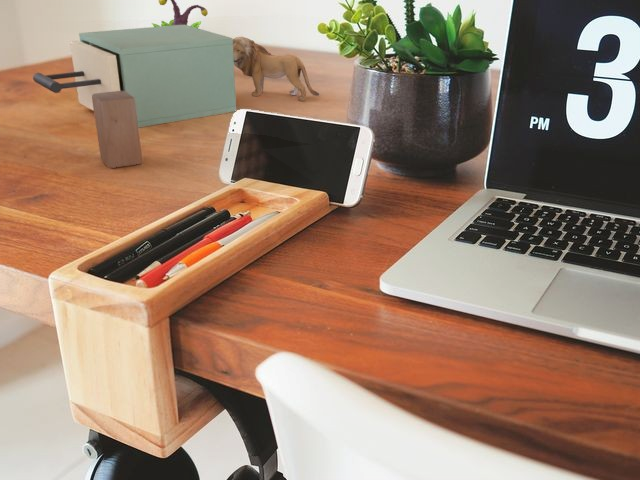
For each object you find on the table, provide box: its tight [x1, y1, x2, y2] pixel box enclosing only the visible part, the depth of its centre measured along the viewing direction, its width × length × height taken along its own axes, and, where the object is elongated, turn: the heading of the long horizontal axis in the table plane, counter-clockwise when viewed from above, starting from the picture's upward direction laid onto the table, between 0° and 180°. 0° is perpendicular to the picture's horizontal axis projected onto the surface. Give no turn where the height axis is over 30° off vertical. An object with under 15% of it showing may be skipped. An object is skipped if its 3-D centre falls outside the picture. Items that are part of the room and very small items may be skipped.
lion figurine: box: [233, 36, 320, 102], centre depth 115 cm, size 15×5×9 cm, turn 81°
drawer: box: [32, 40, 124, 112], centre depth 102 cm, size 22×13×9 cm, turn 130°
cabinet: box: [78, 24, 237, 129], centre depth 106 cm, size 17×15×11 cm
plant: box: [151, 0, 208, 29], centre depth 144 cm, size 20×20×11 cm
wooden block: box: [92, 91, 143, 169], centre depth 84 cm, size 4×4×8 cm
